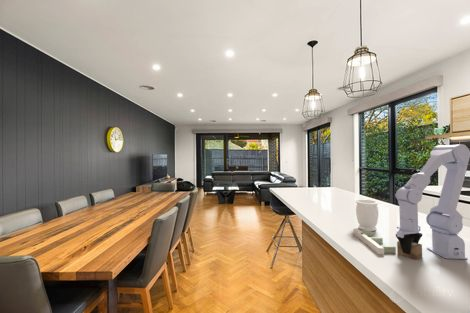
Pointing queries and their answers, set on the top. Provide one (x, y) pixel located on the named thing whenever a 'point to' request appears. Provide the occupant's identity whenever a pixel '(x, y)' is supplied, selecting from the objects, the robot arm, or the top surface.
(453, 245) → the robot arm
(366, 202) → the jar
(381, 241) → the rack
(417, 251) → the cardboard box
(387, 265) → the top surface
